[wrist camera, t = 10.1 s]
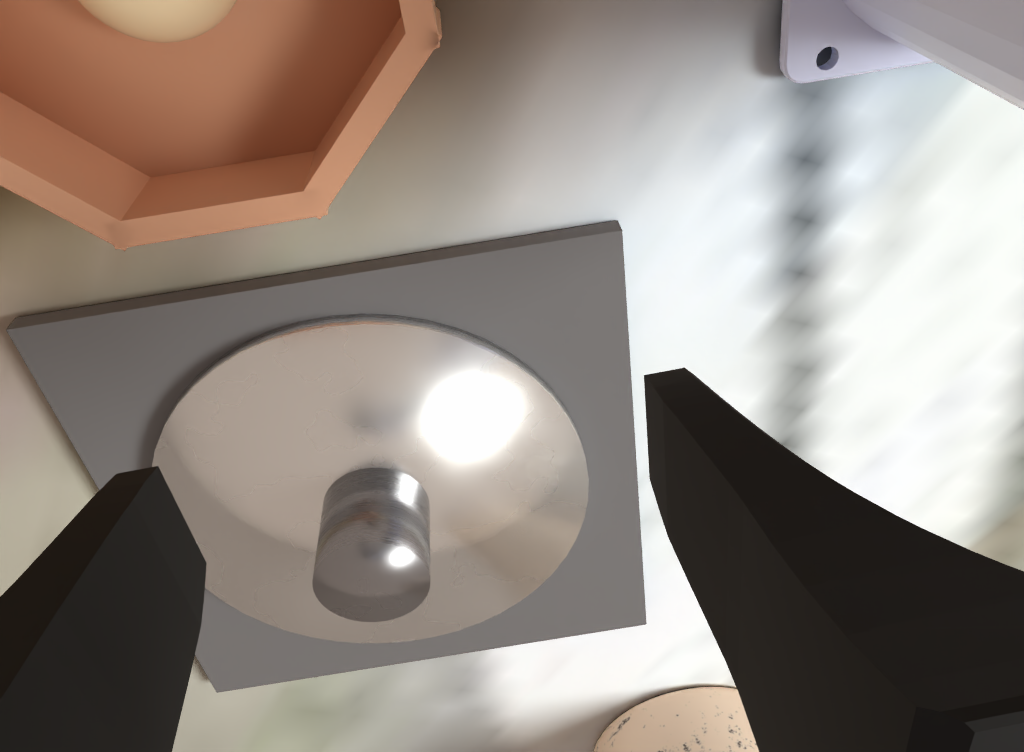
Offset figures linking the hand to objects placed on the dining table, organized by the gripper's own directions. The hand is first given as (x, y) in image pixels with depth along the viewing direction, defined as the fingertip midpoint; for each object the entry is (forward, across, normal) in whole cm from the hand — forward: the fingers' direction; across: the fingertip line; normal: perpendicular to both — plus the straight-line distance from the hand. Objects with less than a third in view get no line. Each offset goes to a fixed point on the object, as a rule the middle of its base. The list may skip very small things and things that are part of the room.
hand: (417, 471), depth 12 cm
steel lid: (+10, +3, +9) cm, 14 cm away
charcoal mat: (+11, +3, +9) cm, 14 cm away
